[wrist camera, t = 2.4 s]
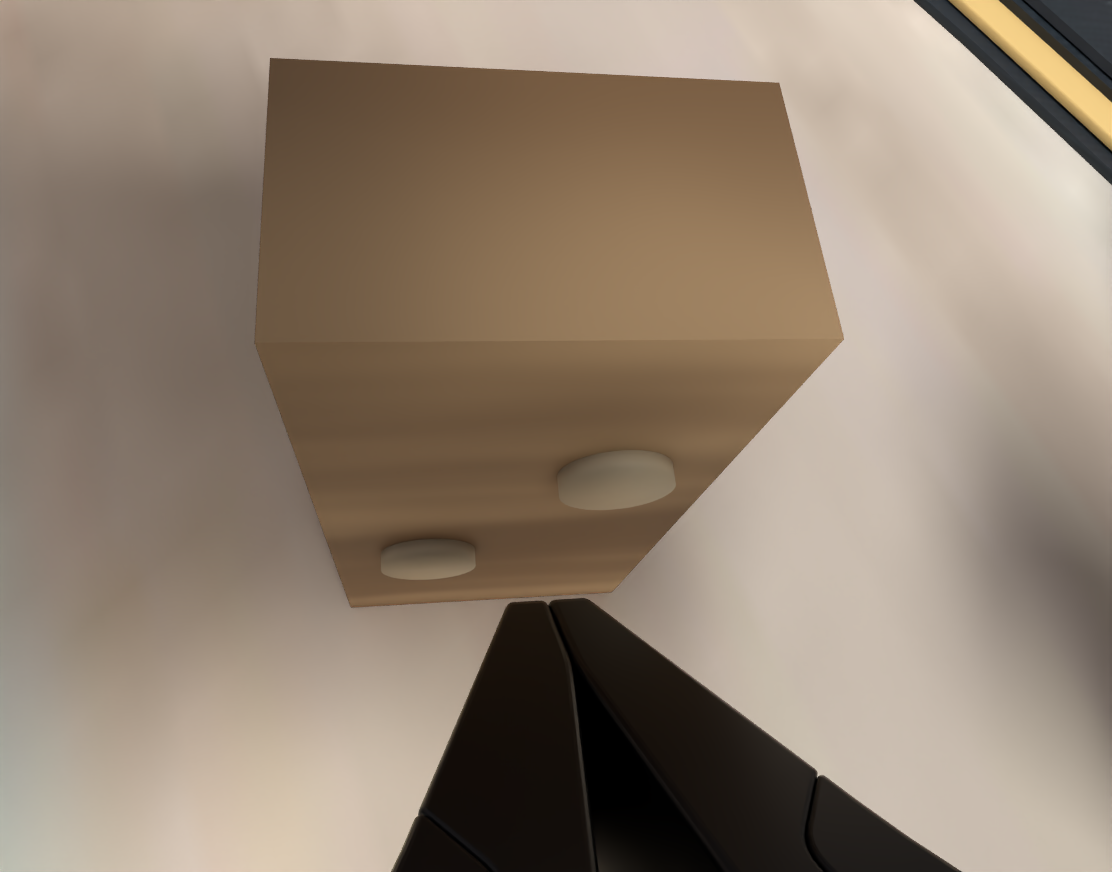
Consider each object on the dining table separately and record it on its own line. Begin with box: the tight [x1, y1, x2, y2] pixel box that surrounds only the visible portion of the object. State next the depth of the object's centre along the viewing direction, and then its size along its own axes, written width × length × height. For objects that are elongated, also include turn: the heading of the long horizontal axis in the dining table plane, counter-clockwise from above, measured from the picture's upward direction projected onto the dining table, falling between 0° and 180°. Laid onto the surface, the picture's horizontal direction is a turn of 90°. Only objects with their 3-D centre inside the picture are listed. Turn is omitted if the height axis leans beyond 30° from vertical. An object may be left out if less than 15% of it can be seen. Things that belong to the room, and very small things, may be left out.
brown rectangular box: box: [255, 58, 844, 607], centre depth 12 cm, size 4×5×10 cm
